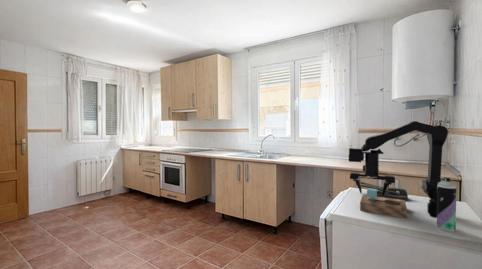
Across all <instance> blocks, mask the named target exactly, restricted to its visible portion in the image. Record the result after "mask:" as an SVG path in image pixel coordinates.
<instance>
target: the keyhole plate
mask: <svg viewBox="0 0 482 269" xmlns="http://www.w3.org/2000/svg"><path fill="white" fill-rule="evenodd" d="M359 203H360V204H359V205H360V206H359V210H360V211H362V212H368V213H373V214H380V215H387V216H391V217H399V218H405V219H407V218H408V207H407V203H406V201H405V200H399V199H391V198H384V197H377V199H376V198H374V201H372V200H370V198H369V197H367V194H362V196H361V199H360V202H359Z"/></svg>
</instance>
